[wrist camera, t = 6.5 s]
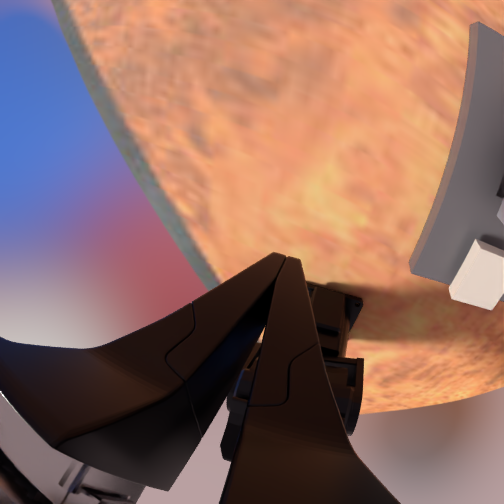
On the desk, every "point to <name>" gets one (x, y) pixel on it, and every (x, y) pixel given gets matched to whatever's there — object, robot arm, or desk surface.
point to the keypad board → (469, 168)
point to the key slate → (501, 212)
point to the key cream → (480, 277)
